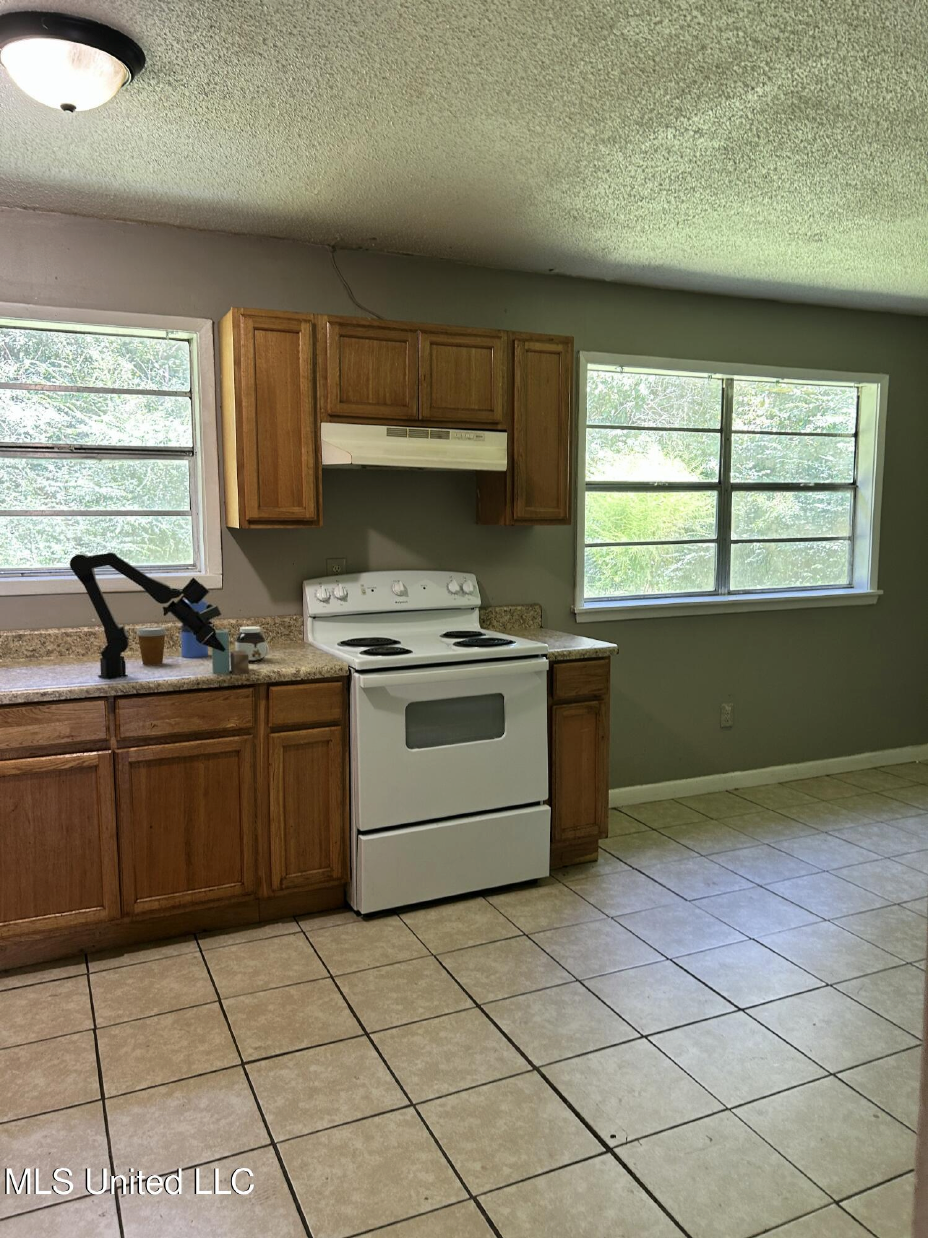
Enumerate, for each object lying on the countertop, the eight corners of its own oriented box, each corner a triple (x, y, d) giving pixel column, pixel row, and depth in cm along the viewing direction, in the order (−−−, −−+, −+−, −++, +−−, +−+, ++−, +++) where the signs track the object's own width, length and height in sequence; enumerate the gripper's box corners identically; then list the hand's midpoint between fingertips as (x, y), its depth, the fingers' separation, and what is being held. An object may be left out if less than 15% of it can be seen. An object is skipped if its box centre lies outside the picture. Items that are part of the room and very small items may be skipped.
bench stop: (232, 674, 291) (232, 655, 290) (230, 669, 300) (230, 650, 300) (248, 673, 292) (248, 654, 292) (246, 668, 302) (246, 650, 301)
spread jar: (237, 664, 311) (236, 629, 309) (232, 659, 321) (232, 625, 320) (273, 662, 315) (272, 628, 314) (267, 657, 325) (266, 624, 324)
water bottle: (176, 655, 327) (174, 585, 324) (201, 653, 333) (199, 584, 330) (187, 659, 320) (185, 587, 317) (213, 656, 326) (211, 585, 323)
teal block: (213, 673, 292) (212, 632, 290) (212, 671, 296) (211, 631, 295) (229, 673, 293) (228, 632, 292) (228, 670, 298) (227, 630, 296)
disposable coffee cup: (131, 665, 307) (130, 629, 306) (151, 660, 316) (150, 626, 315) (153, 667, 304) (152, 630, 302) (173, 662, 312) (172, 627, 311)
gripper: (206, 599, 282) (244, 634, 286) (204, 594, 300) (240, 626, 304) (179, 625, 280) (218, 660, 285) (179, 618, 298) (216, 651, 303)
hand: (224, 648), depth 294 cm, fingers open, 9 cm apart
